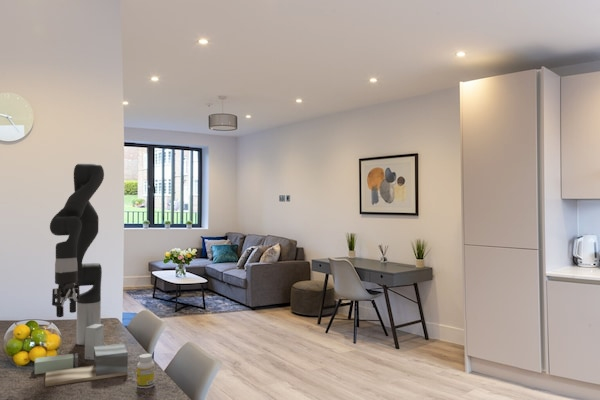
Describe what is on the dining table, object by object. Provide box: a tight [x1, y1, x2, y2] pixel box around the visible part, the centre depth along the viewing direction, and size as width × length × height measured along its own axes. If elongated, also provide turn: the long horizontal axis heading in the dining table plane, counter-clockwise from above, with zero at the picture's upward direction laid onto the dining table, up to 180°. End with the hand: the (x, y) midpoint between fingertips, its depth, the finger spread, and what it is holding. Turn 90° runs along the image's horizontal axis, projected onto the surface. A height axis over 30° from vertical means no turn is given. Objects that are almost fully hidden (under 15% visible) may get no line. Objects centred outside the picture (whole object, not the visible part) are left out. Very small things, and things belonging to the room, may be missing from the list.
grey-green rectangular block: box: [34, 352, 79, 375], centre depth 169 cm, size 6×14×4 cm, turn 117°
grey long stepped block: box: [44, 342, 129, 388], centre depth 163 cm, size 12×25×8 cm, turn 117°
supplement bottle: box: [136, 353, 156, 389], centre depth 154 cm, size 5×5×10 cm
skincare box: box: [84, 323, 105, 361], centre depth 182 cm, size 6×4×12 cm
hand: (66, 314), depth 176 cm, fingers open, 8 cm apart
